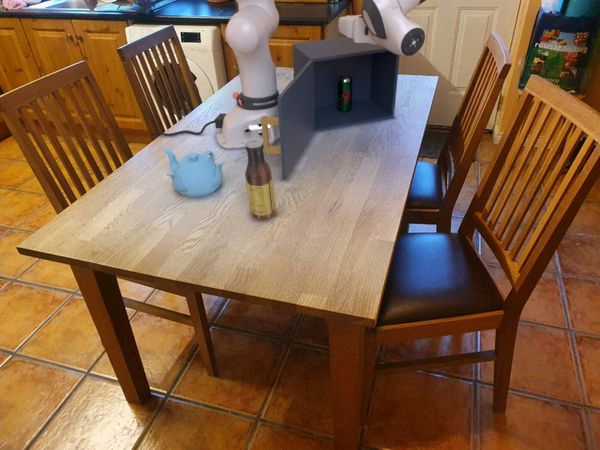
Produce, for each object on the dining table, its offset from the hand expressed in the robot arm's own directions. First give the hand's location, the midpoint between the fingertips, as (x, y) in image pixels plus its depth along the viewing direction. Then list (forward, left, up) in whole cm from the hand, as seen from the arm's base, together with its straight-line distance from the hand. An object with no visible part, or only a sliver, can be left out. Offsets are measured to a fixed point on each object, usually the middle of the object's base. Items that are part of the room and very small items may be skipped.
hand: (363, 16), depth 135 cm
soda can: (-1, +11, -33) cm, 35 cm away
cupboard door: (-28, -12, -34) cm, 45 cm away
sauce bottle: (-44, -39, -34) cm, 68 cm away
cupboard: (-2, +9, -34) cm, 35 cm away
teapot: (-58, -21, -34) cm, 70 cm away
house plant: (-27, +38, -34) cm, 57 cm away
